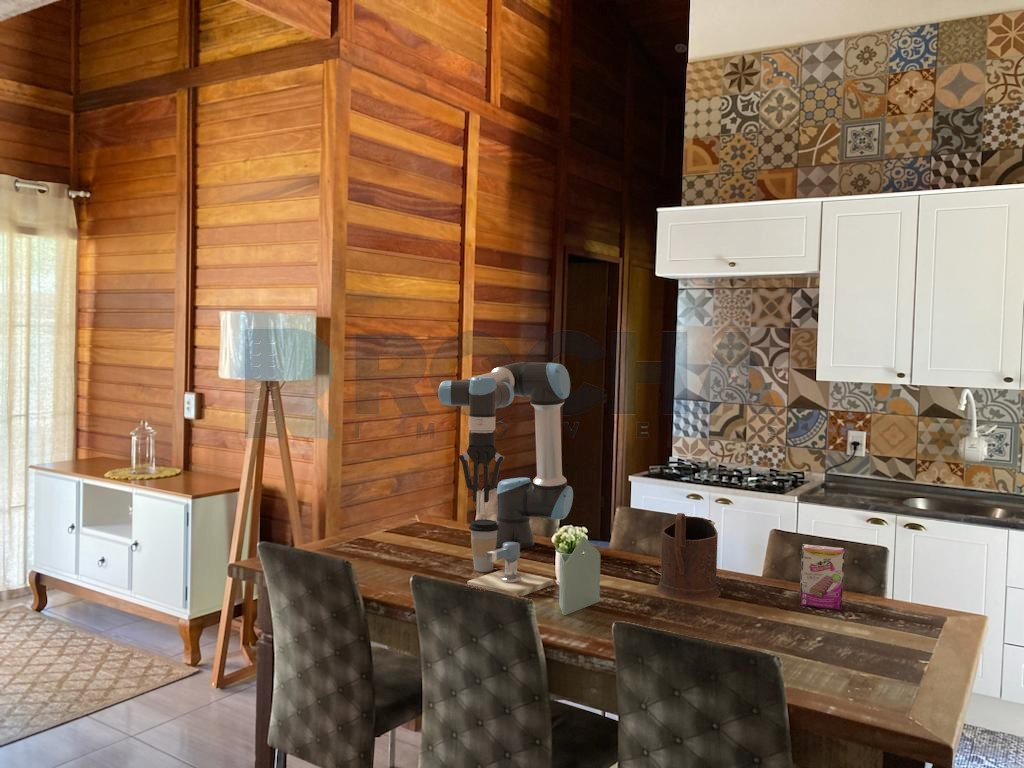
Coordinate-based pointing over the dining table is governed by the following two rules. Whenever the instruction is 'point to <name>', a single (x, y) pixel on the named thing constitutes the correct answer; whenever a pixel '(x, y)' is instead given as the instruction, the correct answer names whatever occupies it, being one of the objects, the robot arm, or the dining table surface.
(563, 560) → the planter
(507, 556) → the cap
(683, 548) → the rusty brown jug
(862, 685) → the dining table surface
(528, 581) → the base board
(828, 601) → the candy bar box
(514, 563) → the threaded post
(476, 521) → the coffee cup
